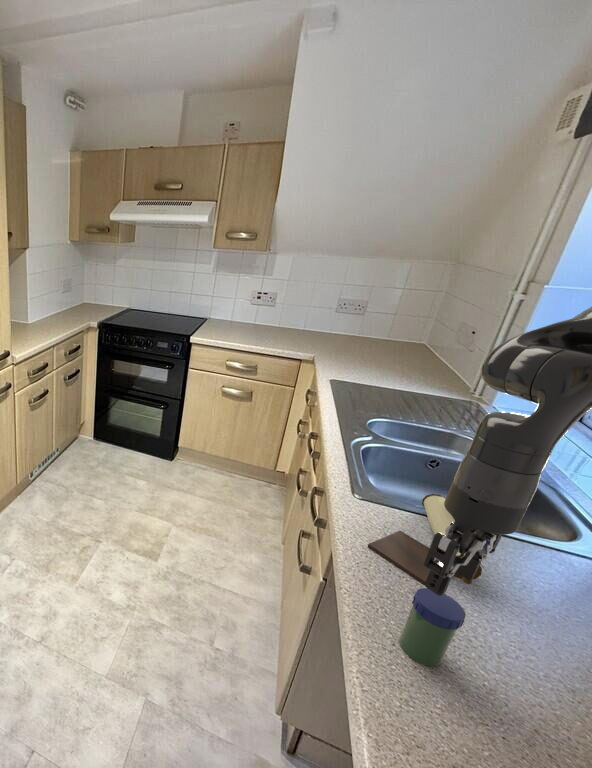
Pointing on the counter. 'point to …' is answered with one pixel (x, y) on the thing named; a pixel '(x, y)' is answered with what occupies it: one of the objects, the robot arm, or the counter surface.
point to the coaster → (404, 554)
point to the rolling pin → (442, 522)
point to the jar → (425, 640)
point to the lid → (439, 609)
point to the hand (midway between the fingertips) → (448, 582)
